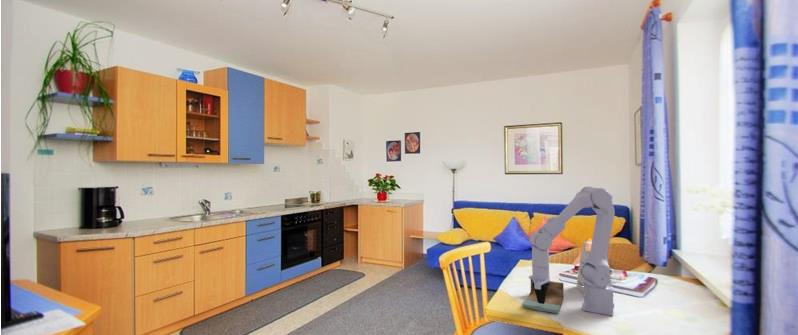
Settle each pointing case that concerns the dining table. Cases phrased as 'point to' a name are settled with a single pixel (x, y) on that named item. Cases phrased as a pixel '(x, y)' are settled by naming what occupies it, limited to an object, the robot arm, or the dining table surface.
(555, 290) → the cart bed
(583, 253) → the grater
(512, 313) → the dining table surface
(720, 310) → the dining table surface
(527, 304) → the panel
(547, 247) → the robot arm
